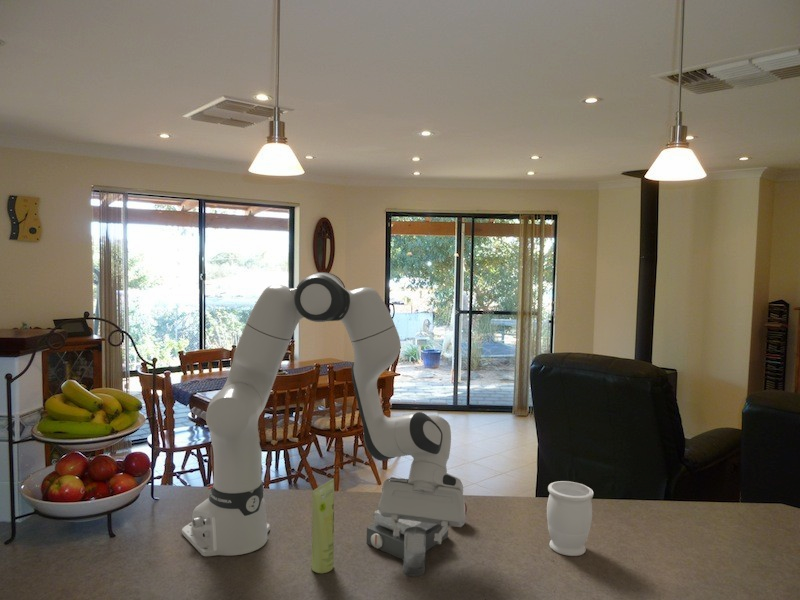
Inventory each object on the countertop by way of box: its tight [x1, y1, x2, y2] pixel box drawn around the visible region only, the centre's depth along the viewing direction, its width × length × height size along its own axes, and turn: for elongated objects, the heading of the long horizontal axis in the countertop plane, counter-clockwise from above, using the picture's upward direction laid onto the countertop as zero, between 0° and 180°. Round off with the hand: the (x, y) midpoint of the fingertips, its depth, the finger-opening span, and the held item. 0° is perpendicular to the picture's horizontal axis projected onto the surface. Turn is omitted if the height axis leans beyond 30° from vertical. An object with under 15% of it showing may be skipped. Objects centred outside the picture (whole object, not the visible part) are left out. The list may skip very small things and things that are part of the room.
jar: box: [546, 480, 594, 557], centre depth 142 cm, size 11×10×15 cm
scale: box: [366, 523, 449, 561], centre depth 144 cm, size 13×17×4 cm
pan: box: [373, 509, 437, 535], centre depth 144 cm, size 12×12×3 cm
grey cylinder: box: [402, 527, 426, 578], centre depth 130 cm, size 5×5×9 cm
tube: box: [310, 478, 335, 574], centre depth 129 cm, size 6×5×20 cm
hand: (416, 540), depth 131 cm, fingers open, 8 cm apart
